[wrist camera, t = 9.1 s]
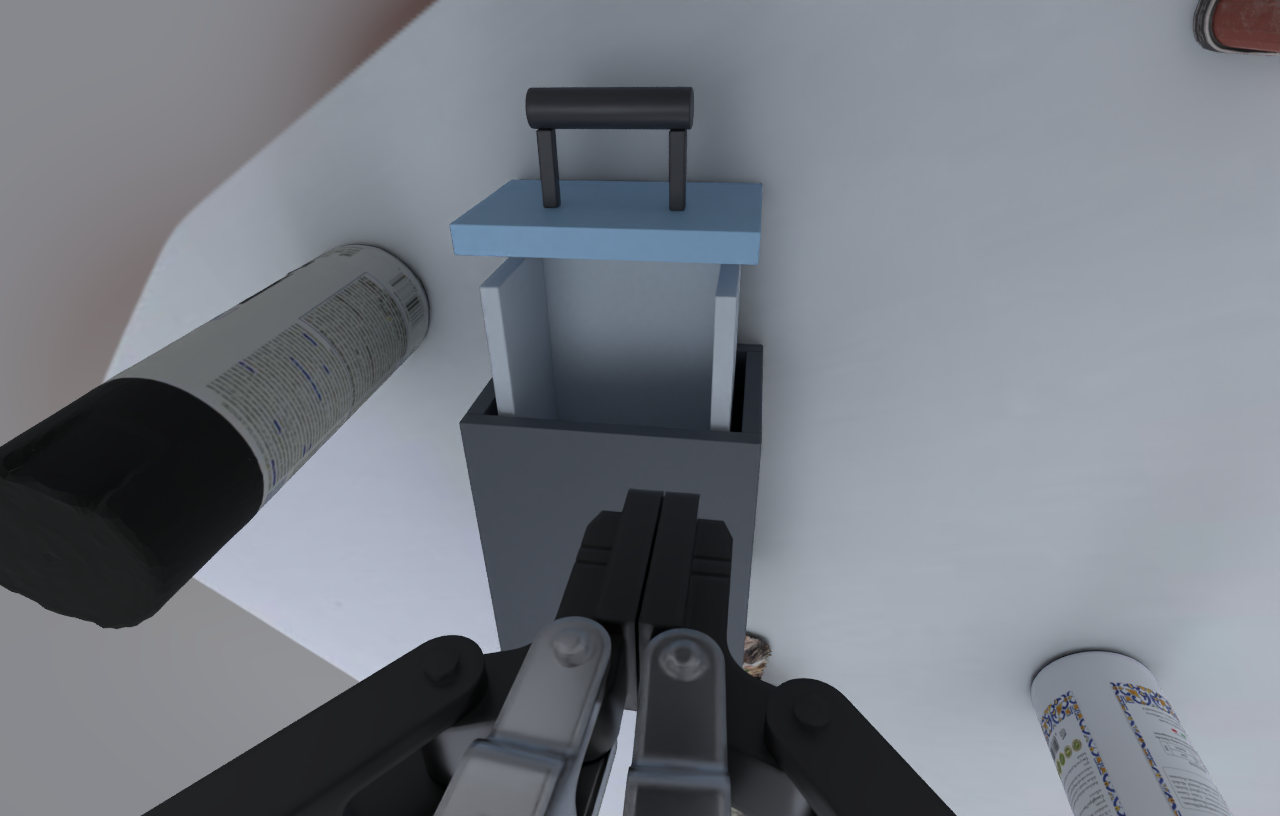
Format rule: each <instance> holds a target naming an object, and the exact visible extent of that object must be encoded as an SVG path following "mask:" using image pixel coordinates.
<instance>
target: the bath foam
mask: <svg viewBox="0 0 1280 816" xmlns="http://www.w3.org/2000/svg"><path fill="white" fill-rule="evenodd" d="M1031 699H1032V703H1033V706H1034V708H1035V711H1036V714H1037V717H1038V719H1039V722H1040V725H1041V727H1042V731H1043V734H1044V736H1045V739H1046V742H1047V744H1048V747H1049V750H1050V752H1051V755H1052V758H1053V760H1054V763H1055V766H1056V768H1057V771H1058V774H1059V777H1060V779H1061V782H1062V785H1063V787H1064V790H1065V793H1066V795H1067V798H1068V801H1069V803H1070V806H1071V809H1072V811H1073V814H1074V816H1233V815H1232V813H1231V811H1230V809H1229V808H1228V806H1227V804H1226V802H1225V801H1224V799H1223V797H1222V795H1221V794H1220V792H1219V790H1218V788H1217V787H1216V785H1215V783H1214V781H1213V779H1212V778H1211V776H1210V774H1209V772H1208V771H1207V769H1206V767H1205V765H1204V764H1203V762H1202V760H1201V758H1200V756H1199V755H1198V753H1197V751H1196V749H1195V748H1194V746H1193V744H1192V742H1191V741H1190V739H1189V737H1188V735H1187V734H1186V732H1185V730H1184V728H1183V726H1182V725H1181V723H1180V721H1179V719H1178V718H1177V716H1176V714H1175V712H1174V711H1173V709H1172V707H1171V705H1170V704H1169V702H1168V701H1167V699H1166V697H1165V696H1164V694H1163V692H1162V690H1161V689H1160V687H1159V685H1158V683H1157V682H1156V680H1155V678H1154V677H1153V675H1152V674H1151V672H1150V671H1149V670H1148V669H1147V668H1146V667H1145V666H1144V665H1142V664H1141V663H1139V662H1138V661H1136V660H1134V659H1132V658H1130V657H1127V656H1124V655H1121V654H1117V653H1112V652H1102V651H1091V652H1081V653H1076V654H1072V655H1068V656H1065V657H1062V658H1060V659H1058V660H1056V661H1054V662H1052V663H1050V664H1049V665H1047V666H1046V667H1045V668H1043V669H1042V670H1041V671H1040V672H1039V673H1038V675H1037V676H1036V678H1035V679H1034V681H1033V684H1032V687H1031Z"/></svg>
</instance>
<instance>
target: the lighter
mask: <svg viewBox="0 0 1280 816" xmlns="http://www.w3.org/2000/svg"><path fill="white" fill-rule="evenodd" d="M1193 31H1194V35H1195V38H1196V41H1197V42H1198V43H1199V44H1200V45H1201V46H1202V47H1203V48H1204V49H1207V50H1211V51H1215V52H1223V53H1235V54H1251V55H1266V56H1278V55H1280V0H1200V1H1199V4H1198V7H1197V9H1196V12H1195V15H1194V23H1193Z"/></svg>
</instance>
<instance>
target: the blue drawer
mask: <svg viewBox="0 0 1280 816" xmlns="http://www.w3.org/2000/svg"><path fill="white" fill-rule="evenodd" d="M693 114H694V92H693V88H692V87H558V88H529V89H528V91H527V94H526V116H527V120H528V123H529V125H530V127H531V128H533V129H538V130H537V131H536V132H537V143H538V154H539V165H540V176H541V180H511V181H509V182H508V183H507V184H505V185H504V186H502V187H501V188H500V189H498V190H497V191H495V192H494V193H493V194H491V195H490V196H488V197H487V198H486V199H484V200H483V201H481V202H480V203H479V204H477V205H476V206H474V207H473V208H472V209H470V210H469V211H467V212H466V213H465V214H463V215H462V216H460V217H459V218H458V219H456V220H455V221H453V222H452V223H451V224H450V230H451V236H452V242H453V248H454V254H455V255H471V256H502V257H509V258H508V259H507V260H506V261H505V262H504V263H503V264H502V265H501V266H500V267H499V268H498V269H497V270H496V271H495V272H494V273H493V274H492V275H491V276H490V277H489V278H488V279H487V280H486V281H485V282H484V283H483V284H482V285H481V286H480V295H481V301H482V308H483V315H484V322H485V328H486V335H487V342H488V349H489V355H490V362H491V369H492V376H493V382H494V389H495V396H496V403H497V409H498V416H508V417H523V418H538V419H552V420H567V421H582V422H596V423H611V424H625V425H640V426H655V427H669V428H684V429H699V430H713V431H728V432H732V421H733V403H734V385H735V368H736V350H737V333H738V315H739V297H740V280H741V264H747V265H758V263H759V249H760V235H761V207H762V184H761V183H699V182H686V163H687V129H691V128H692V125H693ZM555 129H671V130H670V132H669V182H634V181H570V180H559V172H558V160H557V147H556V134H555Z"/></svg>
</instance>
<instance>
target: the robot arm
mask: <svg viewBox="0 0 1280 816" xmlns="http://www.w3.org/2000/svg"><path fill="white" fill-rule="evenodd" d="M700 513H701V494H696V493H684V492H671V491H666V493H665V495H664V491H657V490H645V489H633V488H629V490H628V493H627V496H626V500H625V503H624V507H623V510H622V512H616V511H605V510H602V511H601V512H600V513H599V514H598V515H597V516H596V517H595V518H594V519H593V520H592V521H591V522H590V523H589V524H588V525H587V528H586V530H585V533H584V536H583V539H582V542H581V547H580V548H579V551H578V554H577V557H576V562H575V563H574V565H573V568H572V571H571V574H570V577H569V580H568V583H567V586H566V589H565V592H564V595H563V598H562V601H561V603H560V606H559V609H558V612H557V615H556V618H555V620H554V621H553V622H551V623H549V624H548V625H546V626H545V627H544V628H542V629H541V630H540V631H539V633H538V634H537V635H536V637H535V638H534V640H533V642H532V643H530V644H528V645H526V646H523V647H520V648H517V649H512V650H507V651H501V652H495V653H489V654H483V653H482V650H481V648H480V647H479V646H478V644H476V643H475V642H474V641H473V640H471V639H469V638H466V637H463V636H458V635H447V636H441V637H437V638H434V639H431V640H429V641H427V642H425V643H423V644H421V645H420V646H418V647H417V648H415V649H413V650H412V651H410V652H408V653H407V654H405V655H403V656H402V657H400V658H399V659H397V660H395V661H394V662H392V663H390V664H389V665H387V666H385V667H384V668H382V669H381V670H379V671H377V672H376V673H374V674H372V675H371V676H369V677H367V678H366V679H364V680H363V681H361V682H359V683H358V684H356V685H354V686H353V687H351V688H349V689H348V690H346V691H344V692H343V693H341V694H340V695H338V696H336V697H335V698H333V699H331V700H330V701H328V702H327V703H325V704H323V705H322V706H320V707H318V708H317V709H315V710H313V711H312V712H310V713H308V714H307V715H305V716H304V717H302V718H301V719H299V720H297V721H295V722H294V723H292V724H290V725H289V726H287V727H286V728H284V729H283V730H281V731H279V732H277V733H276V734H274V735H272V736H271V737H269V738H267V739H266V740H264V741H263V742H261V743H259V744H258V745H256V746H254V747H253V748H251V749H249V750H248V751H246V752H245V753H243V754H241V755H240V756H238V757H236V758H235V759H233V760H232V761H230V762H228V763H227V764H225V765H223V766H222V767H220V768H218V769H217V770H215V771H213V772H212V773H210V774H209V775H207V776H205V777H204V778H202V779H200V780H199V781H197V782H195V783H194V784H192V785H191V786H189V787H187V788H186V789H184V790H182V791H181V792H179V793H177V794H176V795H174V796H172V797H171V798H169V799H168V800H166V801H164V802H163V803H161V804H159V805H158V806H156V807H154V808H153V809H151V810H150V811H148V812H146V813H145V814H143V815H141V816H598V814H599V811H600V807H601V804H602V800H603V797H604V793H605V790H606V786H607V783H608V779H609V775H610V772H611V768H612V765H613V761H614V758H615V754H616V750H617V737H618V734H619V730H620V725H621V720H622V715H623V710H624V709H625V710H633V711H637V718H636V728H635V738H634V748H633V758H632V764H631V766H630V767H629V770H628V775H627V782H626V791H625V801H624V811H623V816H732V814H731V807H733V808H734V809H736V810H738V811H740V812H742V813H744V814H746V815H748V816H956V814H955V813H954V812H953V811H952V810H951V809H950V808H949V807H948V806H947V805H946V804H945V803H944V802H943V801H942V799H941V798H940V797H939V796H938V795H937V794H936V793H935V792H934V791H933V790H932V789H931V788H930V787H929V786H928V785H927V783H926V782H925V781H924V780H923V779H922V778H921V777H920V776H919V775H918V774H917V773H916V772H915V771H914V770H913V769H912V767H911V766H910V765H909V764H908V763H907V762H906V761H905V760H904V759H903V758H902V757H901V756H900V755H899V754H898V753H897V751H896V750H895V749H894V748H893V747H892V746H891V745H890V744H889V743H888V742H887V741H886V740H885V739H884V738H883V736H882V735H881V734H880V733H879V732H878V731H877V730H876V729H875V728H874V727H873V726H872V725H871V724H870V723H869V722H868V720H867V719H866V718H865V717H864V716H863V715H862V714H861V713H860V712H859V711H858V710H857V709H856V708H855V707H854V706H853V704H852V703H851V702H850V701H849V700H848V699H847V698H846V697H845V696H844V695H843V694H842V693H841V692H840V691H838V690H837V689H835V688H834V687H832V686H830V685H828V684H827V683H824V682H821V681H819V680H814V679H807V678H800V679H793V680H789V681H787V682H784V683H782V684H781V685H779V686H778V687H776V686H774V685H772V684H769V683H767V682H764V681H762V680H760V679H758V678H756V677H754V676H752V675H750V674H749V673H747V672H746V671H745V670H743V669H742V668H741V667H740V666H739V665H738V664H737V662H736V661H735V660H734V658H733V657H732V655H731V653H730V651H729V648H728V644H727V626H728V611H729V596H730V580H731V564H732V549H733V538H732V536H731V534H730V532H729V530H728V528H727V526H726V524H725V522H724V521H721V520H710V519H700Z"/></svg>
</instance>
